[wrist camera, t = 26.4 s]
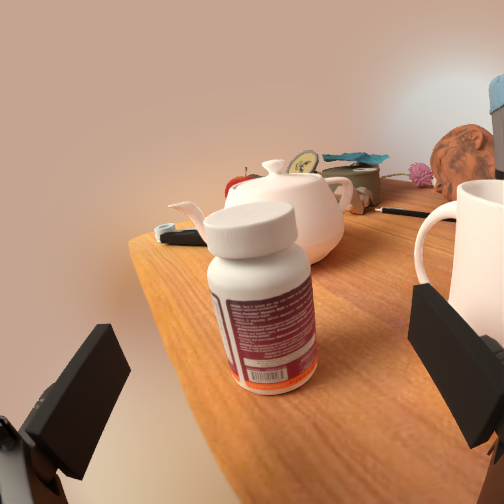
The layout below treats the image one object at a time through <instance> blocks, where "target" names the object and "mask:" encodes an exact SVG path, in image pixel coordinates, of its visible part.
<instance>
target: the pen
mask: <svg viewBox="0 0 504 504" xmlns="http://www.w3.org/2000/svg"><path fill="white" fill-rule="evenodd" d="M375 210H376V211H381V213H390V214H399V215H407V216H415V217H423V218H427V217H428V216H429V215H430V214H431V213H425V212H417V211H408V210H405V209H400V208H390V207H382V208H381V209H376V208H375ZM443 220H445V221H452V222H456V219H455V218H447V219H443Z"/></svg>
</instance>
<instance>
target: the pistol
mask: <svg viewBox="0 0 504 504" xmlns="http://www.w3.org/2000/svg"><path fill="white" fill-rule="evenodd" d="M160 241H161V243H169V244H170V243H171V244H197V245H207V243H205V242H204V240H203V239H202V237H201V236H200V234H199V232H198V230H195V229H193V230H192V229H190V230H188V229H187V230H183V231H180V232H165V233H163V234H161V235H160Z"/></svg>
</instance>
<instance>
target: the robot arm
mask: <svg viewBox="0 0 504 504" xmlns="http://www.w3.org/2000/svg"><path fill="white" fill-rule="evenodd" d="M489 97H490V115H492V124H493V136H494V159H495V180H504V74H503V75H500V76H498V77H496V78H494V79H493V80H492V81H491V83H490V85H489ZM408 340H409V342H410V343H411V345H412V346H413V348H414V350H415V351H416V353H417V354H418V356H419V358H420V359H421V361H422V363H423V364H424V366H425V368H426V369H427V371H428V373H429V374H430V376H431V378H432V379H433V381H434V383H435V384H436V386H437V388H438V390H439V391H440V393H441V395H442V397H443V398H444V400H445V402H446V404H447V406H448V407H449V409H450V411H451V413H452V415H453V417H454V418H455V420H456V422H457V424H458V426H459V428H460V430H461V432H462V434H463V435H464V437H465V439H466V441H467V443H468V445H469V447H470V449H472V448H474V447H477V446H479V445H481V444H483V443H485V442H487V441H488V440H489V438H490V437H491V435H492V434H493V432H494V430H495V432H496V434H497V435H498V438H497V439H496V441H495V442H494V444H493V445H492V447H491V448H490V450H489V452H488V454H487V455H490V454H491V453H492V451H493V453H492V457H491V461H490V465H489V468H488V471H487V475H486V478H485V481H484V484H483V487H482V490H481V493H480V496H479V498H478V501H477V504H504V348H503V347H502V346H501V345H500V344H499V343H498V342H497V340H495V339H493V338H491V337H490V336H488V335H483V336H480V337H479V336H478V334H477V333H476V332H475V331H474V330H473V329H472V328H471V327H470V326H469V324H468V323H467V322H466V321H465V320H464V319H463V318H462V317H461V316H460V315H459V314H458V312H457V311H456V310H455V309H454V308H453V307H452V306H451V305H450V304H449V303H448V302H447V301H446V300H445V299H444V298H443V297H442V296H441V295H440V294H439V293H438V292H437V291H436V290H435V289H434V288H433V287H432V286H431V285H430V284H429V283H425V284H420V285H415V286H413V297H412V307H411V316H410V324H409V332H408ZM130 372H131V369H130V367H129V365H128V362H127V360H126V358H125V356H124V354H123V351H122V349H121V347H120V345H119V343H118V340H117V338H116V336H115V333H114V331H113V328H112V326H111V324H97V325H96V326H95V328H94V329H93V331H92V332H91V333H90V335H89V336H88V337H87V339H86V340H85V341H84V343H83V344H82V345H81V347H80V348H79V349H78V351H77V352H76V354H75V355H74V357H73V358H72V359H71V361H70V362H69V364H68V365H67V366H66V368H65V369H64V371H63V372H62V373H61V375H60V376H59V378H58V379H57V381H56V382H55V383H53V384H52V385H51V386H50V387H49V388H47V389H46V390H45V391H44V393H43V394H42V395H41V397H40V398H39V401H38V402H37V403H36V404H35V408H33V409H32V411H31V412H30V414H29V415H28V417H27V418H26V420H25V421H24V423H23V424H22V426H21V428H20V429H19V431H18V432H17V431H16V429H15V428H14V427H13V426H12V425H11V423H10V422H9V421H8V419H7V418H6V417H4V416H0V504H68V502H67V499H66V496H65V493H64V490H63V487H62V484H61V481H60V478H59V476H58V475H57V474H56V471H57V469H58V468H59V469H60V470H61V471H62V472H63V473H64V474H65V475H66V476H67V477H71V478H74V479H78V480H81V481H82V479H83V477H84V474H85V472H86V470H87V467H88V465H89V462H90V460H91V458H92V455H93V453H94V451H95V448H96V446H97V444H98V441H99V439H100V437H101V435H102V432H103V430H104V428H105V425H106V423H107V421H108V419H109V417H110V414H111V412H112V410H113V408H114V406H115V403H116V401H117V399H118V397H119V395H120V393H121V391H122V388H123V386H124V384H125V382H126V380H127V378H128V376H129V374H130Z"/></svg>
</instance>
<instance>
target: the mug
mask: <svg viewBox="0 0 504 504" xmlns="http://www.w3.org/2000/svg"><path fill="white" fill-rule="evenodd" d="M447 218H455V219H456V237H455V251H454V262H453V271H452V280H451V288H450V295H449V301H447V300H446V301H447V302H448V303H449V304H450V305H451V306H452V307H453V308H454V309H455V310H456V311H457V312H458V314H459V315H460V316H461V317H462V318H463V319H464V320H465V321H466V322H467V323H468V324H469V326H470V327H471V328H472V329H473V330H474V331H475V332H476V333H477V334H478V336H479V337H480V336H483V335H488V336H490V337H491V338H493V339H495V340H497V342H498V343H499V344H500V345H501V346H502V347H503V348H504V180H474V181H468V182H464V183H462V184H460V185H458V187H457V200H456V201H452V202H449V203H446V204H443V205H441V206H440V207H438V208H437V209H435V210H434V211H433V212H432V213H431V214H430V215H429V216H428V217H427V218H426V219H425V221H424V222H423V224H422V226H421V228H420V230H419V232H418V235H417V239H416V243H415V251H414V260H415V268H416V273H417V277H418V280H419V283H420V284H425V283H429V284H430V285H431V283H430V281H429V279H428V277H427V275H426V272H425V269H424V264H423V244H424V240H425V237H426V235H427V233H428V231H429V230H430V228H431V227H432V226H433V225H434V224H435V223H437V222H439V221H441V220H443V219H447ZM431 286H432V285H431ZM432 287H433V286H432Z"/></svg>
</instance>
